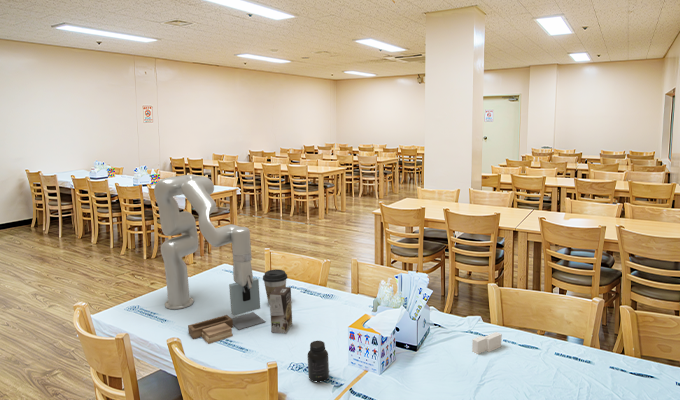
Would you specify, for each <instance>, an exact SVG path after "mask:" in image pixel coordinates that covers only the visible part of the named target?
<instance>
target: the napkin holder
mask: <svg viewBox="0 0 680 400" xmlns="http://www.w3.org/2000/svg"><path fill="white" fill-rule="evenodd" d="M502 336H503V335H502V333H500V332H498V331H495V332H493V333H491V334H488V335H485V336H483V335H480V336H478V337H475V338H473V339H472V345H471V347H472V348H471V350H472V351H471V352H472V353H473V352H474V354H475V353H476V355H477V354H478V355H480V354H482V353H484V352H488V353H490V352H492V351H495V350H496V349H499V348H501V347H502ZM481 352H482V353H481ZM479 353H480V354H479Z"/></svg>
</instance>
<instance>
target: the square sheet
mask: <svg viewBox="0 0 680 400" xmlns="http://www.w3.org/2000/svg"><path fill="white" fill-rule="evenodd" d="M259 281H260V280H259V278H256V277H253V284H251V286H252V288H251V289H250V297H251V299H250V300H248V301H243V293H242V292H243V287H242V286H240V285H239V284H238V283H236V282H233V283H229V285H228V286H229V287H228V288H229V299H230V301H229V302H230V312H231V315H232V316H233V317H237V316H240V315H244V314H247V313H251V312H254V311H256V310H257V311H258V310H260V309H261V298H260V297H261V296H260V294H261V293H260V282H259ZM246 284H247V283H246ZM246 287H247V286H245V288H246Z"/></svg>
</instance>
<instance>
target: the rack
mask: <svg viewBox="0 0 680 400" xmlns="http://www.w3.org/2000/svg"><path fill="white" fill-rule="evenodd" d="M231 318H232V317H230V316H229V315H228V314H224V315H221V316H217V317H214V318H210V319H207V320H204V321H200V322H196V323H191V324H189V325H187V332H188V335H189V336H190V337H191V338H192V339H193V340H196V339H199V338H202V330H203V329H206V328H209V327H212V326H216V325H219V324H222V323H226V324H227V325H228V326H229V327H231V328H232V329H233V328H234V326H233V320H232V319H231Z"/></svg>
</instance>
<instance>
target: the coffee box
mask: <svg viewBox="0 0 680 400" xmlns="http://www.w3.org/2000/svg"><path fill="white" fill-rule="evenodd" d="M292 305H293V304H292V288H291V287H290V286H286V287H276V288H275V289H274V290H273V291H272V292H271V294H270V305H269V308H270V309H269V311H270V332H271V333H279V334H286V333H287V332H288V330H289V329H290V328H291V326H293V310H292V308H293V307H292Z"/></svg>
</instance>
